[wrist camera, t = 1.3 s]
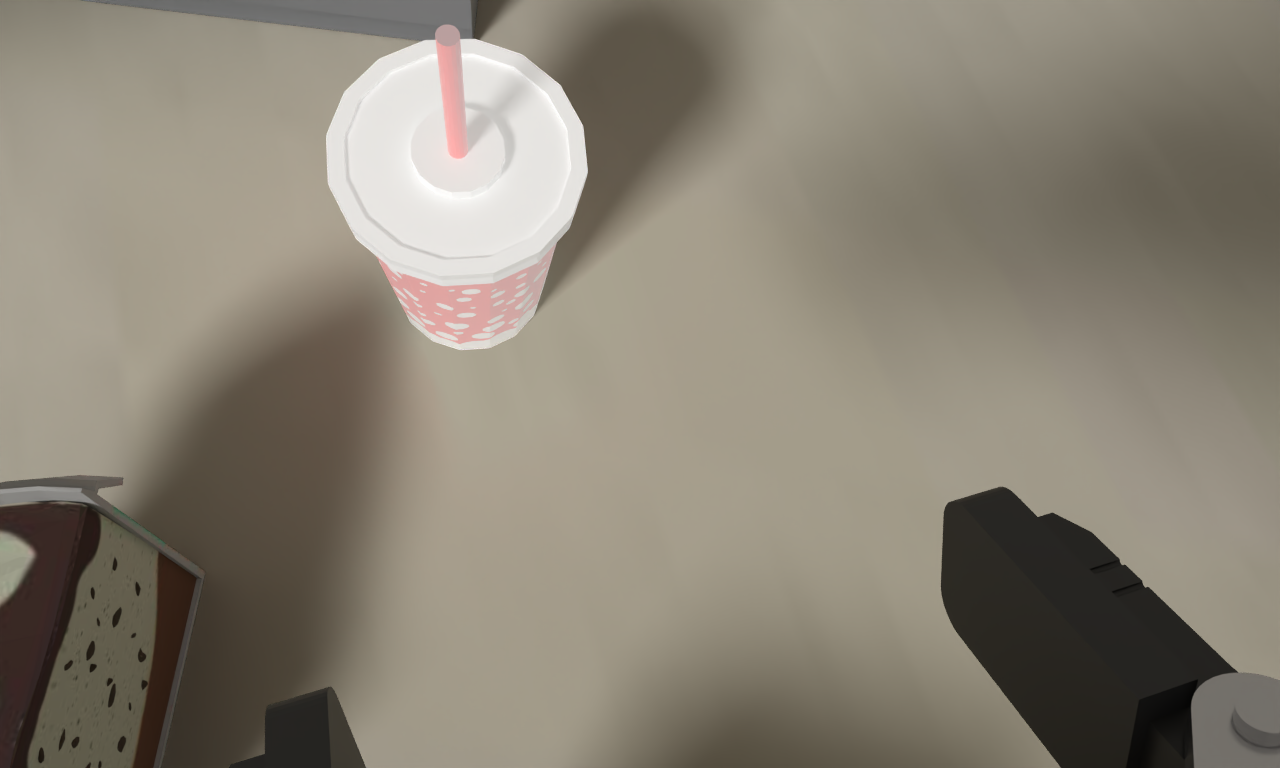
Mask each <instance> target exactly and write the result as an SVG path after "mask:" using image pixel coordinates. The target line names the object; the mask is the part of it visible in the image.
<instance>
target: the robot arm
mask: <svg viewBox="0 0 1280 768" xmlns="http://www.w3.org/2000/svg"><path fill="white" fill-rule="evenodd" d="M941 592H942V598H943V602H944V606H945V609H946V612H947V614H948V617H949V619H950V621H951V623H952V625H953V627H954V629H955V630H956V632H957V633H958V635H959V636H960V637H961V638H962V640H963V641H964V642H965V644H966V645H967V646H968V648H969V649H970V650H971V651H972V653H973V654H974V655H975V657H976V658H977V659H978V661H979V662H980V663H981V664H982V666H983V667H984V668H985V670H986V671H987V672H988V673H989V675H990V676H991V677H992V679H993V680H994V681H995V683H996V684H997V685H998V686H999V688H1000V689H1001V690H1002V692H1003V693H1004V694H1005V696H1006V697H1007V698H1008V699H1009V701H1010V702H1011V703H1012V705H1013V706H1014V707H1015V708H1016V710H1017V711H1018V712H1019V714H1020V715H1021V716H1022V718H1023V719H1024V720H1025V721H1026V723H1027V724H1028V725H1029V727H1030V728H1031V729H1032V731H1033V732H1034V733H1035V734H1036V736H1037V737H1038V738H1039V740H1040V741H1041V742H1042V743H1043V745H1044V746H1045V747H1046V749H1047V750H1048V751H1049V753H1050V754H1051V755H1052V756H1053V758H1054V759H1055V760H1056V762H1057V763H1058V764H1059V766H1060V767H1061V768H1280V680H1277V679H1274V678H1271V677H1267V676H1263V675H1259V674H1252V673H1238V672H1237V671H1236V670H1235V669H1234V668H1232V667H1231V666H1230V665H1229V664H1228V663H1227V662H1226V661H1225V660H1224V659H1223V658H1222V657H1221V656H1220V655H1219V654H1218V653H1217V652H1216V651H1215V650H1214V649H1212V648H1211V647H1210V646H1209V645H1208V644H1207V643H1206V642H1205V641H1204V640H1203V639H1202V638H1201V637H1200V636H1199V635H1198V634H1197V633H1196V632H1195V631H1194V630H1193V629H1192V628H1191V627H1190V626H1189V625H1187V624H1186V623H1185V622H1184V621H1183V620H1182V619H1181V618H1180V617H1179V616H1178V615H1177V614H1176V613H1175V612H1174V611H1173V610H1172V609H1171V608H1170V607H1169V606H1168V605H1167V604H1166V603H1165V602H1164V601H1162V600H1161V599H1160V598H1159V597H1158V596H1157V595H1156V594H1155V593H1154V592H1153V591H1152V590H1151V589H1150V588H1149V587H1146V588H1145V587H1144V586H1143V583H1142V580H1141V579H1140V578H1139V577H1137V576H1136V575H1135V574H1134V573H1133V572H1132V571H1131V570H1130V569H1129V568H1128V567H1127V566H1126V565H1121V563H1120V559H1119V558H1118V557H1117V556H1116V555H1115V554H1114V553H1113V552H1111V551H1110V550H1109V549H1108V548H1107V547H1106V546H1105V545H1104V544H1103V543H1102V542H1101V541H1100V540H1099V539H1098V538H1097V537H1096V536H1095V535H1094V534H1093V533H1092V532H1090V531H1088V530H1086V529H1084V528H1082V527H1080V526H1078V525H1076V524H1074V523H1072V522H1070V521H1068V520H1066V519H1064V518H1062V517H1060V516H1058V515H1056V514H1054V513H1050V514H1047V515H1043V516H1040V517H1037V516H1036V515H1035V514H1034V513H1033V512H1032V511H1031V510H1030V509H1029V508H1028V507H1027V506H1026V505H1025V504H1024V503H1023V502H1022V501H1021V500H1020V499H1019V498H1018V497H1017V496H1016V495H1015V494H1014V493H1013V492H1012V491H1011V490H1009V489H1007V488H1005V487H998V488H994V489H991V490H988V491H984V492H981V493H978V494H975V495H971V496H968V497H965V498H961V499H958V500H955V501H951V502H949V503H948V504H947V505H946V507H945V510H944V521H943V546H942V571H941ZM229 768H366V767H365V764H364V762H363V759H362V757H361V754H360V752H359V749H358V747H357V744H356V742H355V739H354V737H353V735H352V732H351V730H350V727H349V725H348V722H347V720H346V717H345V715H344V712H343V710H342V708H341V705H340V703H339V700H338V698H337V695H336V693H335V691H334V690H333V688H332V687H328V688H324V689H321V690H318V691H314V692H311V693H308V694H305V695H301V696H298V697H295V698H291V699H288V700H285V701H281V702H278V703H275V704H271V705H269V706H268V707H267V709H266V716H265V754H264V755H260V756H257V757H254V758H251V759H247V760H244V761H241V762H238V763H235V764H231V765H230V767H229Z"/></svg>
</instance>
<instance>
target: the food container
mask: <svg viewBox="0 0 1280 768" xmlns="http://www.w3.org/2000/svg"><path fill="white" fill-rule="evenodd" d="M122 484H123V478H121V477H102V476H83V475H77V476H65V477H53V478H42V479H30V480H19V481H9V482H2V483H0V768H161V765H162V761H163V757H164V752H165V748H166V744H167V739H168V735H169V730H170V726H171V722H172V717H173V713H174V708H175V704H176V700H177V695H178V691H179V687H180V682H181V678H182V673H183V669H184V665H185V660H186V656H187V651H188V647H189V643H190V638H191V634H192V629H193V625H194V621H195V616H196V612H197V608H198V603H199V599H200V594H201V590H202V586H203V581H204V577H205V571H204V570H202V569H201V568H200V567H198V566H197V565H195V564H194V563H193V562H191V561H190V560H188V559H187V558H186V557H184V556H183V555H181V554H180V553H179V552H177V551H176V550H174V549H173V548H172V547H170V546H169V545H167V544H166V543H165V542H163V541H162V540H160V539H159V538H158V537H156V536H155V535H153V534H152V533H150V532H149V531H148V530H146V529H145V528H143V527H142V526H141V525H139V524H138V523H136V522H135V521H134V520H132V519H131V518H129V517H128V516H127V515H125V514H124V513H122V512H121V511H120V510H118V509H117V508H115V507H114V506H113V505H111V504H110V503H108V502H107V501H106V500H104V499H103V498H101V497H100V496H99V495H97V493H98V489H99V488H105V487H112V486H119V485H122Z"/></svg>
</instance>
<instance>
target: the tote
mask: <svg viewBox="0 0 1280 768" xmlns="http://www.w3.org/2000/svg"><path fill="white" fill-rule="evenodd" d="M83 1H91V2H100V3H108V4H117V5H125V6H133V7H142V8H150V9H159V10H167V11H176V12H184V13H193V14H201V15H209V16H218V17H226V18H235V19H243V20H252V21H260V22H268V23H277V24H285V25H294V26H302V27H311V28H319V29H327V30H336V31H344V32H353V33H361V34H370V35H378V36H387V37H395V38H403V39H412V40H420V41H424V40H436V39H435V32H436V30H437V29H438V28H439V27H440V26H442V25H448V24H449V25H452V26H455V27H456V28H457V29H458V31H459V32H460V39H474V33H475V24H476V14H477V5H478V0H83Z"/></svg>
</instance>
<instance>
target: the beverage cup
mask: <svg viewBox="0 0 1280 768" xmlns="http://www.w3.org/2000/svg"><path fill="white" fill-rule="evenodd" d="M435 39H436V40H424V41H422V42H419V43H417V44H414V45H412V46H409V47H407V48H404V49H402V50H399V51H397V52H394V53H392V54H389V55H387V56H384V57H382V58H379V59H378V60H377V61H376V62H375V63H374V64H373V65H372V66H371V67H370V68H369V69H368V70H367V71H366V72H365V73H364V74H362V75H361V76H360V77H359V78H358V79H357V80H356V81H355V82H354V83H353V84H352V85H351V86H350V87H349V88H348V89H347V90H346V91H345V92H344V94H343V96H342V99H341V101H340V103H339V106H338V108H337V111H336V113H335V115H334V118H333V120H332V122H331V125H330V127H329V130H328V132H327V134H326V147H327V171H328V185H329V187H330V189H331V191H332V193H333V195H334V197H335V199H336V201H337V203H338V205H339V207H340V209H341V211H342V213H343V215H344V217H345V219H346V221H347V223H348V225H349V227H350V228H351V230H352V232H353V234H354V236H355V238H356V239H357V240H358V241H359V242H360V243H361V244H363V245H364V246H365V247H366V248H367V249H369V250H370V251H371V252H372V253H373V254H375V255H376V256H377V258H378V260H379V262H380V264H381V266H382V268H383V270H384V272H385V274H386V276H387V278H388V280H389V282H390V284H391V286H392V288H393V289H394V291H395V293H396V295H397V297H398V299H399V301H400V303H401V305H402V307H403V309H404V311H405V313H406V315H407V317H408V319H409V321H410V323H411V324H413V325H414V326H415V327H416V328H417V329H419V330H420V331H421V332H422V333H423V334H425V335H426V336H427V337H428V338H429V339H431V340H432V341H434V342H437V343H440V344H443V345H446V346H449V347H452V348H456V349H459V350H469V349H484V348H491V347H493V346H495V345H497V344H499V343H501V342H503V341H506V340H508V339H510V338H512V337H514V336H516V335H517V333H518V332H519V331H520V330H521V329H522V328H523V327H524V326H525V325H526V324H527V322H528V321H529V320H530V319H531V318H532V317H533V316H534V314H535V311H536V308H537V305H538V302H539V299H540V296H541V293H542V290H543V287H544V284H545V280H546V277H547V274H548V270H549V267H550V264H551V260H552V257H553V254H554V250H555V247H556V244H557V241H558V240H559V239H560V238H561V237H562V236H563V235H564V234H565V233H566V232H567V231H568V229H569V228H570V226H571V223H572V220H573V217H574V214H575V211H576V208H577V205H578V202H579V199H580V196H581V193H582V190H583V187H584V184H585V181H586V178H587V174H588V168H587V158H586V149H585V139H584V129H583V125H582V123H581V121H580V119H579V117H578V116H577V114H576V112H575V110H574V109H573V107H572V105H571V103H570V101H569V100H568V98H567V96H566V94H565V92H564V91H563V89H562V87H561V85H560V84H559V83H557V82H556V81H555V80H554V79H552V78H551V77H550V76H549V75H547V74H546V73H545V72H544V71H542V70H541V69H540V68H539V67H537V66H536V65H535V64H534V63H532V62H531V61H530V60H529V59H527V58H526V57H525V56H524V55H522V54H519V53H516V52H513V51H510V50H507V49H504V48H501V47H498V46H495V45H492V44H489V43H486V42H483V41H480V40H477V39H460V32H459V31H458V29H457V28H456V27H455V26H452V25H449V24H448V25H442V26H440V27H439V28H438V29H437V30H436V32H435Z"/></svg>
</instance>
